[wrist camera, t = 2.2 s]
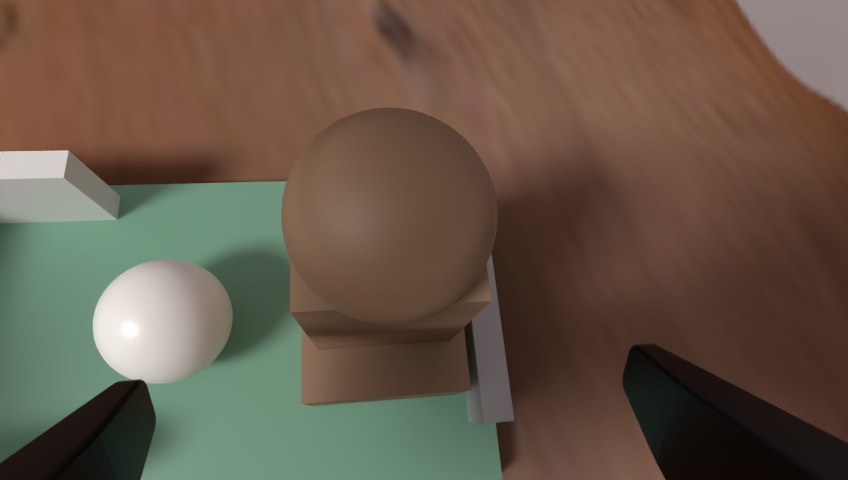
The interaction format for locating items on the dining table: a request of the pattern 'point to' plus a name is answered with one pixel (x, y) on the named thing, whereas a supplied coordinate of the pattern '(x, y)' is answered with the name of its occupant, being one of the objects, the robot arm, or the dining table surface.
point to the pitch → (241, 356)
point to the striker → (387, 256)
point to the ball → (162, 321)
